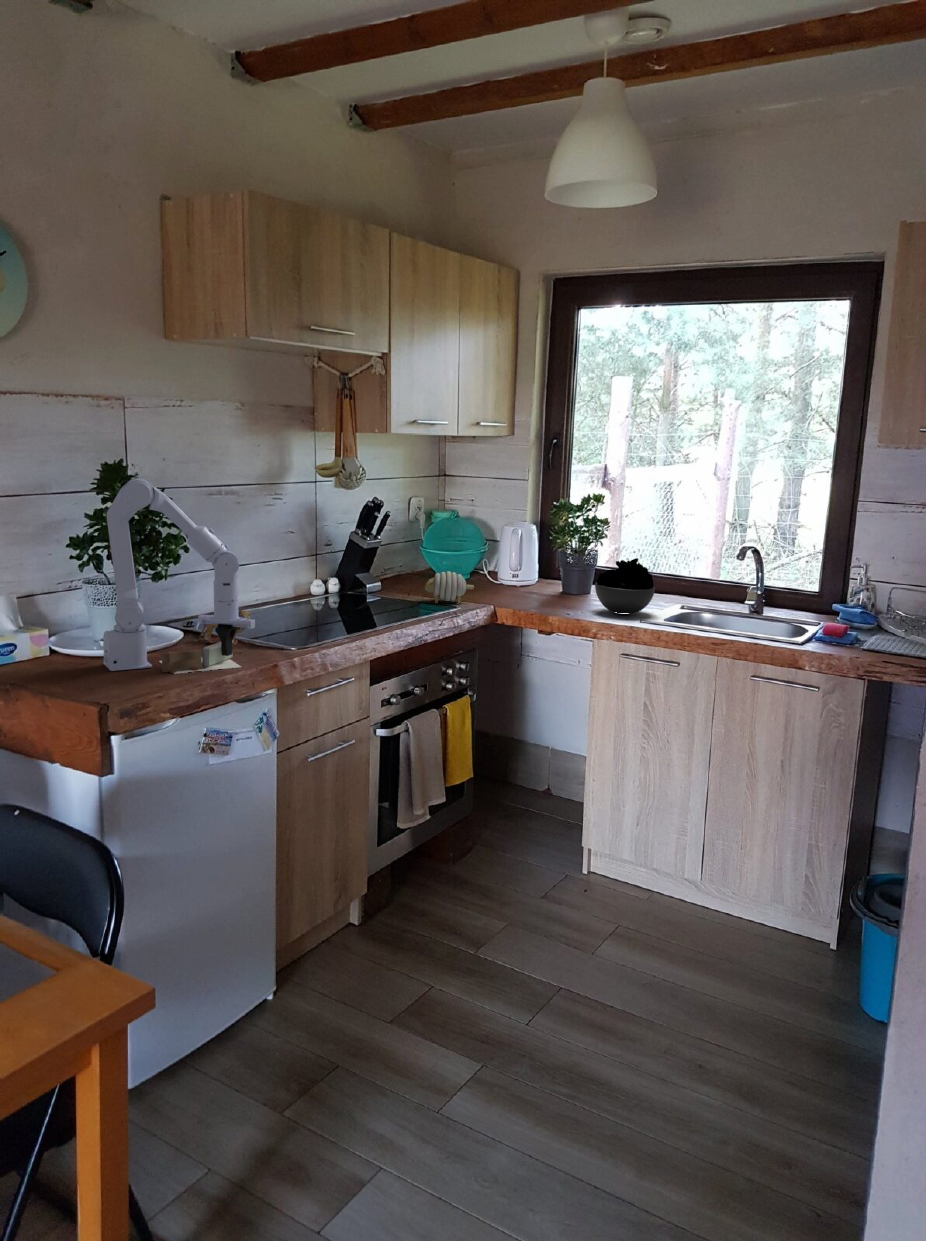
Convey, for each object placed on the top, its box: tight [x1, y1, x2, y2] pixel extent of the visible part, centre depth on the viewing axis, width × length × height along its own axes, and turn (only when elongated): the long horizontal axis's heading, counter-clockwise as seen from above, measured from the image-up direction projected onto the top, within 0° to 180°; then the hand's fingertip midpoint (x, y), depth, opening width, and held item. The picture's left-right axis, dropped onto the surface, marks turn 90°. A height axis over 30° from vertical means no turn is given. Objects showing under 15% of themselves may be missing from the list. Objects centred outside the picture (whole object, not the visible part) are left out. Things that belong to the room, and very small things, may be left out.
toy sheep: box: [424, 570, 475, 603], centre depth 325 cm, size 11×17×11 cm, turn 98°
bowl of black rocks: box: [594, 557, 656, 614], centre depth 318 cm, size 20×20×19 cm
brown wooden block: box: [161, 649, 202, 674], centre depth 221 cm, size 9×4×4 cm, turn 123°
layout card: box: [159, 658, 243, 675], centre depth 228 cm, size 16×13×1 cm
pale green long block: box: [201, 641, 234, 667], centre depth 229 cm, size 12×2×4 cm, turn 161°
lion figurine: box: [195, 609, 251, 646], centre depth 251 cm, size 15×5×9 cm, turn 91°
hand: (227, 654), depth 230 cm, fingers closed, pressing on pale green long block
